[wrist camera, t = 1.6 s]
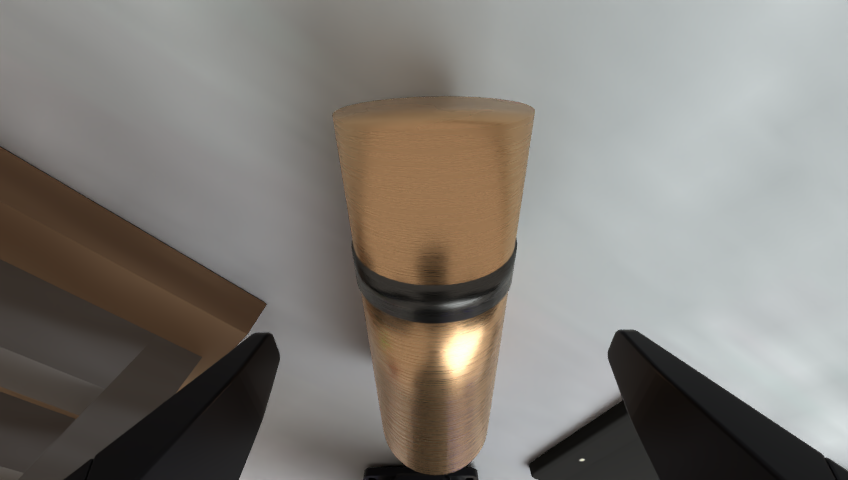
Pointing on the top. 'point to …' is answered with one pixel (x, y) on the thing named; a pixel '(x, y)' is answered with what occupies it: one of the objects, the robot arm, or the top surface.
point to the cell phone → (598, 452)
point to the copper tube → (434, 260)
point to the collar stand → (94, 324)
